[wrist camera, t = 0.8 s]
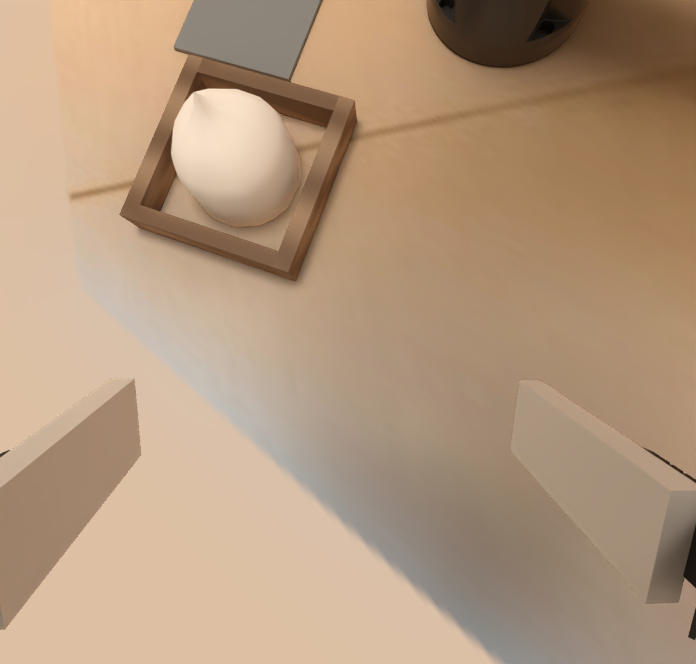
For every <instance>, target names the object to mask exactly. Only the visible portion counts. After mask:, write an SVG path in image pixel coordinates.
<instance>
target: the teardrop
mask: <svg viewBox="0 0 696 664" xmlns="http://www.w3.org/2000/svg"><path fill="white" fill-rule="evenodd" d="M171 156H172V160H173V164H174V167H175V170H176V173H177V176H178V178H179V181H180V182H181V183H182V184H183V186H184V187H185V188H186V189H187V190H188V191H189V193H190V194H191V195H192V196H193V197H194V198H195V200H196V201H197V202H198V203H199V204H200V205H201V207H202V208H203V209H204V210H205V211H206V212H207V213H208V214H209V216H210V217H212V218H214V219H216V220H218V221H221V222H223V223H225V224H227V225H230V226H232V227H247V226H260V225H262V224H264V223H266V222H269V221H271V220H273V219H275V218H276V217H278V216H279V215H280V214H281V213H282V212H283V211H284V210H285V209H287V208H288V207H289V205H290V203H291V201H292V199H293V197H294V195H295V193H296V191H297V190H298V188H299V186H300V184H301V159H300V157H299V154H298V152H297V150H296V148H295V146H294V143H293V141H292V139H291V137H290V135H289V133H288V131H287V129H286V126H285V124H284V122H283V120H282V118H281V116H280V114H279V113H278V112H276V111H275V110H274V109H273V108H272V107H271V106H270V105H269V104H268V103H267V102H265V101H264V100H263V99H262V98H260V97H259V96H256V95H253V94H250V93H247V92H244V91H241V90H238V89H205V90H200V91H196V92H193V93H192V94H191V96H190V97H189V98H188V99H187V100H186V101H185V103H184V104H183V106H182V108H181V110H180V111H179V113H178V115H177V117H176V119H175V122H174V127H173V135H172V147H171Z"/></svg>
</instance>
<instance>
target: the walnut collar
mask: <svg viewBox="0 0 696 664" xmlns="http://www.w3.org/2000/svg"><path fill="white" fill-rule="evenodd" d="M205 89H238V90H241V91H244V92H247V93H250V94H253V95H256V96H259V97H260V98H262V99H263V100H264V101H265V102H267V103H268V104H269V105H270V106H271V107H272V108H273V109H274V110H275V111H276V112H278V113H280V114H283V115H287V116H290V117H293V118H297V119H300V120H304V121H307V122H311V123H314V124H318V125H321V126H324V127H327V129H326V131H325V134H324V136H323V139H322V142H321V144H320V147H319V149H318V152H317V154H316V157H315V159H314V162H313V165H312V167H311V170H310V172H309V175H308V177H307V180H306V183H305V185H304V188H303V190H302V193H301V195H300V198H299V200H298V203H297V206H296V208H295V211H294V213H293V216H292V218H291V221H290V223H289V226H288V229H287V231H286V234H285V236H284V239H283V241H282V244H281V246H280V249H279V251H276V250H273V249H270V248H267V247H264V246H261V245H258V244H256V243H253V242H250V241H247V240H244V239H241V238H238V237H235V236H232V235H229V234H226V233H223V232H220V231H217V230H214V229H211V228H208V227H205V226H202V225H199V224H196V223H193V222H190V221H187V220H184V219H181V218H178V217H175V216H172V215H169V214H166V213H163V212H160V210H161V207H162V205H163V203H164V200H165V198H166V195H167V193H168V191H169V188H170V186H171V184H172V181H173V179H174V177H175V174H176V170H175V167H174V164H173V160H172V156H171V147H172V135H173V127H174V122H175V119H176V117H177V115H178V113H179V111H180V110H181V108H182V106H183V104H184V103H185V101H186V100H187V99H188V98H189V97H190V96H191V94H192V93H193V92H196V91H200V90H205ZM356 122H357V118H356V108H355V100H352V99H348V98H345V97H341V96H337V95H334V94H330V93H327V92H323V91H319V90H316V89H312V88H309V87H305V86H302V85H298V84H294V83H291V82H287V81H284V80H280V79H276V78H273V77H269V76H266V75H262V74H258V73H255V72H251V71H248V70H244V69H241V68H237V67H233V66H230V65H226V64H223V63H219V62H215V61H212V60H208V59H205V58H201V57H198V56H194V55H190V54H189V55H188V57H187V60H186V62H185V64H184V67H183V69H182V71H181V74H180V76H179V78H178V81H177V83H176V85H175V88H174V90H173V92H172V94H171V97H170V99H169V101H168V104H167V106H166V108H165V111H164V113H163V115H162V118H161V120H160V122H159V124H158V127H157V129H156V131H155V134H154V136H153V138H152V141H151V143H150V145H149V148H148V150H147V152H146V155H145V157H144V159H143V161H142V164H141V166H140V168H139V171H138V173H137V175H136V178H135V180H134V182H133V185H132V187H131V189H130V191H129V194H128V196H127V198H126V201H125V203H124V205H123V208H122V210H121V212H120V215H121V216H122V217H124V218H125V219H127V220H128V221H130V222H131V223H133V224H134V225H136V226H137V227H140V228H143V229H146V230H148V231H151V232H154V233H157V234H160V235H163V236H166V237H169V238H172V239H175V240H178V241H181V242H183V243H186V244H189V245H192V246H195V247H198V248H201V249H204V250H207V251H210V252H213V253H216V254H219V255H221V256H224V257H227V258H230V259H233V260H236V261H239V262H242V263H245V264H248V265H251V266H254V267H256V268H259V269H262V270H265V271H268V272H271V273H274V274H277V275H280V276H283V277H286V278H289V279H291V280H294V281H296V278H297V275H298V273H299V270H300V268H301V265H302V262H303V260H304V257H305V254H306V252H307V249H308V247H309V244H310V241H311V239H312V236H313V234H314V231H315V228H316V226H317V223H318V221H319V218H320V215H321V213H322V210H323V208H324V205H325V202H326V200H327V197H328V195H329V192H330V189H331V187H332V184H333V182H334V179H335V176H336V174H337V171H338V169H339V166H340V163H341V161H342V158H343V156H344V153H345V150H346V148H347V145H348V142H349V140H350V137H351V135H352V132H353V129H354V127H355V124H356Z"/></svg>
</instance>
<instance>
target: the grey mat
mask: <svg viewBox="0 0 696 664" xmlns="http://www.w3.org/2000/svg"><path fill="white" fill-rule="evenodd" d="M321 2H322V0H194V1H193V4H192V6H191V8H190V10H189V13H188V15H187V17H186V20H185V22H184V24H183V26H182V29H181V31H180V33H179V36H178V38H177V40H176V42H175V45H174V49H175V50H177V51H180V52H184V53H187V54H191V55H194V56H198V57H202V58H205V59H209V60H212V61H216V62H220V63H223V64H227V65H230V66H234V67H237V68H241V69H245V70H248V71H252V72H255V73H259V74H263V75H266V76H270V77H273V78H277V79H281V80H284V81H288V82H289V81H290V79H291V76H292V74H293V71H294V69H295V66H296V64H297V61H298V59H299V57H300V54H301V52H302V49H303V47H304V44H305V42H306V39H307V37H308V34H309V32H310V29H311V27H312V24H313V22H314V19H315V17H316V15H317V12H318V10H319V7H320V5H321Z"/></svg>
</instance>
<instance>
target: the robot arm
mask: <svg viewBox="0 0 696 664" xmlns="http://www.w3.org/2000/svg"><path fill="white" fill-rule="evenodd" d="M588 2H589V0H427V10H428V15H429V19H430V21H431V24H432V26H433V28H434V30H435V32H436V33H437V35H438V36H439V38H440V39H441V40H442V41H443V42H444V43H445V44H446V45H447V46H448V47H449V48H450V49H451V50H453V51H454V52H456V53H457V54H459V55H460V56H462V57H464V58H466V59H468V60H471V61H474V62H477V63H480V64H485V65H491V66H514V65H520V64H525V63H529V62H532V61H535V60H537V59H539V58H542V57H544V56H546V55H547V54H549V53H551V52H552V51H554V50H555V49H556V48H558V47H559V46H560V45H561V44H562V43H563V42H564V41H565V40H566V39H567V38H568V37H569V36H570V35H571V33H572V32H573V31H574V29H575V27H576V26H577V24H578V22H579V20H580V18H581V16H582V14H583V12H584V10H585V9H586V7H587V4H588ZM510 451H511V452H512V454H513V455H514V456H515V457H516V458H517V459H518V460H519V461H520V463H521V464H522V465H523V466H524V467H525V468H526V469H527V470H528V472H529V473H530V474H531V475H532V476H533V477H534V478H535V480H536V481H537V482H538V483H539V484H540V485H541V486H542V487H543V489H544V490H545V491H546V492H547V493H548V494H549V495H550V496H551V498H552V499H553V500H554V501H555V502H556V503H557V504H558V505H559V507H560V508H561V509H562V510H563V511H564V512H565V513H566V515H567V516H568V517H569V518H570V519H571V520H572V521H573V522H574V524H575V525H576V526H577V527H578V528H579V529H580V530H581V531H582V533H583V534H584V535H585V536H586V537H587V538H588V539H589V540H590V542H591V543H592V544H593V545H594V546H595V547H596V548H597V549H598V551H599V552H600V553H601V554H602V555H603V556H604V557H605V559H606V560H607V561H608V562H609V563H610V564H611V565H612V566H613V568H614V569H615V570H616V571H617V572H618V573H619V574H620V575H621V577H622V578H623V579H624V580H625V581H626V582H627V583H628V584H629V586H630V587H631V588H632V589H633V590H634V591H635V592H636V594H637V595H638V596H639V597H640V598H641V599H642V600H643V601H644V603H645V604H649V603H674V602H679V598H680V594H681V590H682V586H683V582H684V578H686V579H687V580H688V581H689V582H690V583H691V584H692V585H693V586H694V587H695V588H696V480H695V479H694V478H692V477H691V476H689V475H688V474H684V473H683V471H682V470H680V469H679V468H677V467H676V466H674V465H670V463H669V462H668V461H666V460H665V459H663V458H662V457H660V456H659V455H657V454H656V453H654V452H652V451H650V450H647V449H645V448H643V447H641V446H639V445H637V444H636V443H634V442H633V441H631V440H630V439H628V438H627V437H625V436H624V435H622V434H621V433H619V432H618V431H616V430H615V429H613V428H612V427H610V426H609V425H607V424H606V423H604V422H603V421H601V420H600V419H598V418H597V417H595V416H594V415H592V414H591V413H589V412H588V411H586V410H585V409H583V408H582V407H580V406H579V405H577V404H576V403H574V402H572V401H571V400H569V399H568V398H566V397H565V396H563V395H562V394H560V393H559V392H557V391H556V390H554V389H553V388H551V387H550V386H548V385H547V384H545V383H544V382H542V381H541V380H519V386H518V394H517V402H516V410H515V418H514V425H513V433H512V441H511V449H510ZM140 456H141V447H140V436H139V425H138V413H137V402H136V390H135V380H134V379H109V380H108V381H106V382H105V383H104V384H102V385H101V386H99V387H98V388H97V389H95V390H94V391H92V392H91V393H90V394H88V395H87V396H85V397H84V398H83V399H81V400H80V401H78V402H77V403H76V404H74V405H73V406H72V407H70V408H69V409H67V410H66V411H65V412H63V413H62V414H60V415H59V416H58V417H56V418H55V419H53V420H52V421H51V422H49V423H48V424H46V425H45V426H44V427H42V428H41V429H39V430H38V431H37V432H35V433H34V434H32V435H31V436H30V437H28V438H27V439H26V440H24V441H23V442H21V443H20V444H19V445H17V446H16V447H14V448H13V449H12V450H8V451H6V452H3V453H2V454H0V630H1V629H6V627H7V626H8V625H9V623H10V622H11V621H12V619H13V618H14V617H15V616H16V614H17V613H18V612H19V611H20V609H21V608H22V607H23V606H24V604H25V603H26V602H27V600H28V599H29V598H30V596H31V595H32V594H33V593H34V591H35V590H36V589H37V588H38V586H39V585H40V584H41V582H42V581H43V580H44V579H45V577H46V576H47V575H48V574H49V572H50V571H51V570H52V568H53V567H54V566H55V565H56V563H57V562H58V561H59V559H60V558H61V557H62V555H63V554H64V553H65V552H66V550H67V549H68V548H69V547H70V545H71V544H72V543H73V541H74V540H75V539H76V538H77V536H78V535H79V534H80V533H81V531H82V530H83V529H84V527H85V526H86V525H87V523H88V522H89V521H90V520H91V518H92V517H93V516H94V514H95V513H96V512H97V511H98V509H99V508H100V507H101V506H102V504H103V503H104V502H105V501H106V499H107V498H108V497H109V495H110V494H111V493H112V492H113V490H114V489H115V488H116V486H117V485H118V484H119V483H120V481H121V480H122V479H123V477H124V476H125V475H126V474H127V472H128V471H129V470H130V468H131V467H132V466H133V464H134V463H135V462H136V461H137V459H138V458H139V457H140ZM688 637H689V638H692V639H694V640H695V638H696V609H695V613H694V617H693V621H692V625H691V628H690V632H689V636H688Z"/></svg>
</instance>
